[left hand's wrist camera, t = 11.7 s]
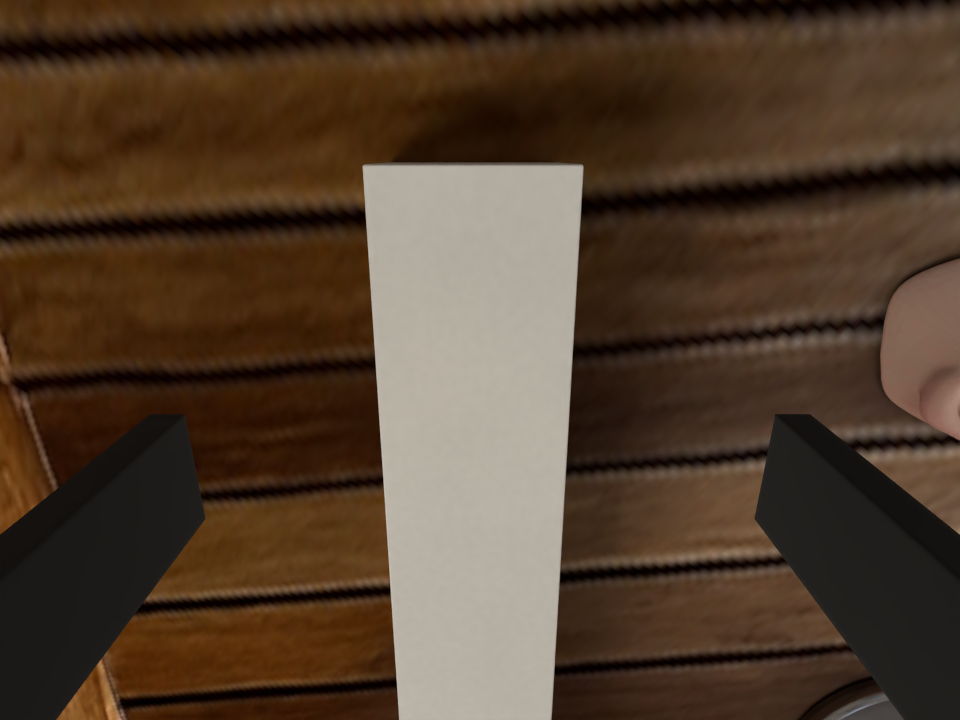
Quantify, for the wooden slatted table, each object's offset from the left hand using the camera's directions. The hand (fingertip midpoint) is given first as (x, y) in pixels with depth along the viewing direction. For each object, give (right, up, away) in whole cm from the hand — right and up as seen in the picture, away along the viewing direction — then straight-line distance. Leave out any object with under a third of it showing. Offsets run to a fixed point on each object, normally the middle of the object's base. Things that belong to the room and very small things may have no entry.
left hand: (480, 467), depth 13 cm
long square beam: (0, -18, +28) cm, 33 cm away
